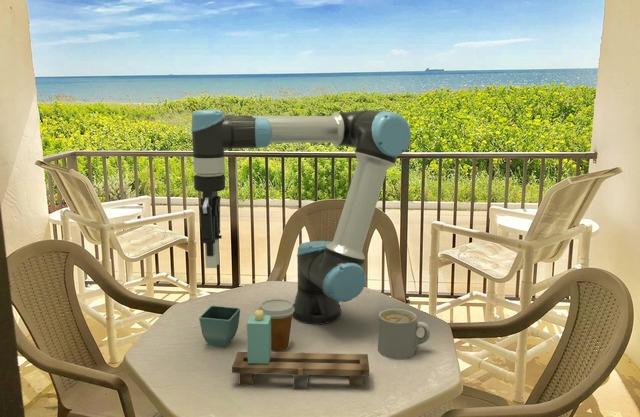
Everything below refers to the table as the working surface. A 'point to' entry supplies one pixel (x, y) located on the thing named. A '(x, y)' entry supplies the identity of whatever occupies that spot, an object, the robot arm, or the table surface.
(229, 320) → the flower pot
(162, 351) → the table surface
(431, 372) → the table surface
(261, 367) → the brown flat slatted piece
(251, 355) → the block
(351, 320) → the table surface
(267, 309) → the disposable coffee cup
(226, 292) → the table surface
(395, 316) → the coffee mug
